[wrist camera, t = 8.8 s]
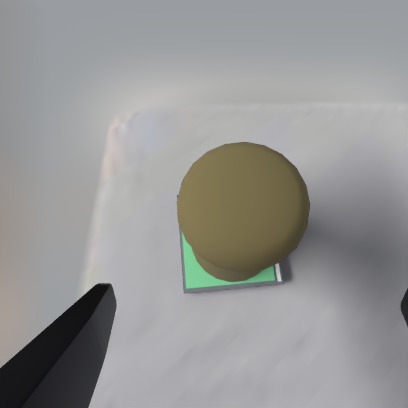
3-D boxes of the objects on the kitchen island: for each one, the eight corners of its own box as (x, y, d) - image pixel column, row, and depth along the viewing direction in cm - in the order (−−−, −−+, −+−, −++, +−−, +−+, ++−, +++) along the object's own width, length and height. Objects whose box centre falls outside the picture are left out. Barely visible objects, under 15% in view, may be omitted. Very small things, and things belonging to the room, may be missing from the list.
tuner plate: (281, 283, 20) (284, 283, 19) (185, 292, 20) (183, 293, 19) (266, 189, 22) (268, 185, 21) (178, 198, 22) (176, 194, 21)
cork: (274, 200, 21) (330, 118, 10) (274, 285, 19) (340, 292, 9) (193, 196, 21) (167, 114, 11) (187, 279, 20) (148, 278, 9)
